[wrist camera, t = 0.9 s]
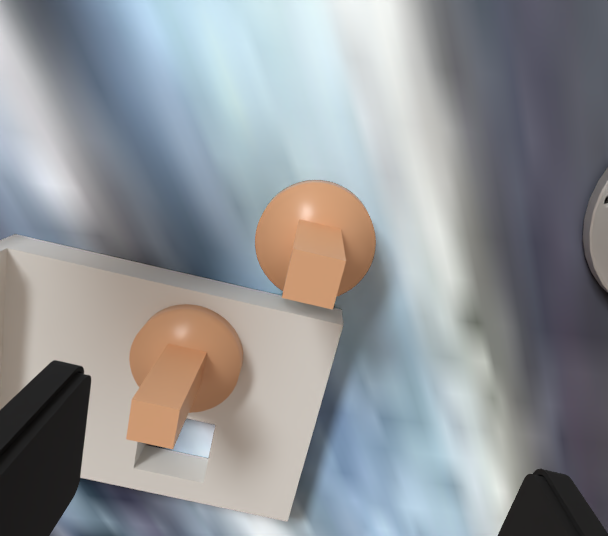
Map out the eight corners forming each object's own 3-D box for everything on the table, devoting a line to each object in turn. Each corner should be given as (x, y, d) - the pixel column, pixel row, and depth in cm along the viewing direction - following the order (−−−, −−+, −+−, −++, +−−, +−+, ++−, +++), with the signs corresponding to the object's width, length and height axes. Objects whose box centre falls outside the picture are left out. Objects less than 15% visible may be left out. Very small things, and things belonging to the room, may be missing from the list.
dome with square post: (382, 188, 31) (408, 225, 21) (353, 289, 33) (366, 361, 23) (274, 163, 30) (254, 188, 21) (253, 265, 32) (225, 329, 23)
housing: (341, 309, 33) (349, 391, 24) (289, 495, 38) (278, 624, 29) (15, 234, 32) (-113, 287, 23) (5, 434, 37) (-103, 546, 28)
